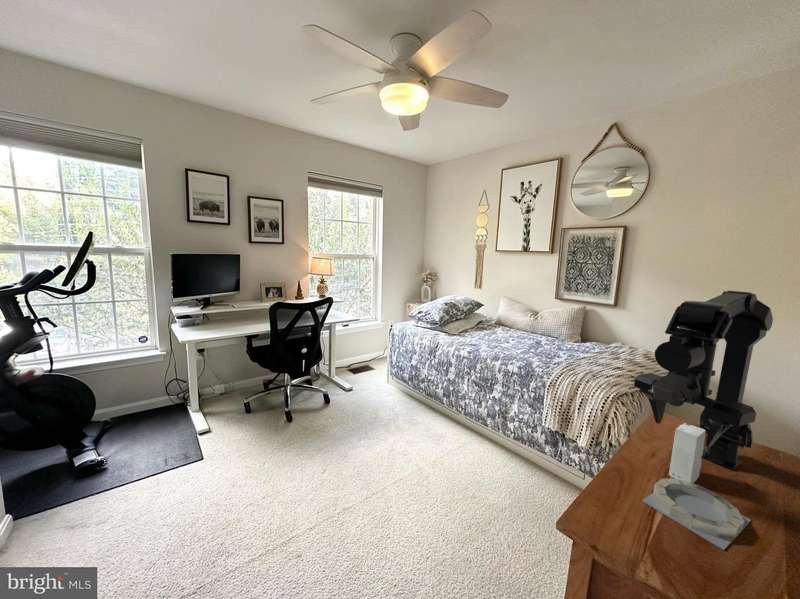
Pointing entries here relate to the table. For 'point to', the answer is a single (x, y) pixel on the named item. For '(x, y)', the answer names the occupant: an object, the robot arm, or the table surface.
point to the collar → (702, 524)
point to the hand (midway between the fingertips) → (681, 434)
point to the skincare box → (687, 453)
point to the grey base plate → (698, 509)
